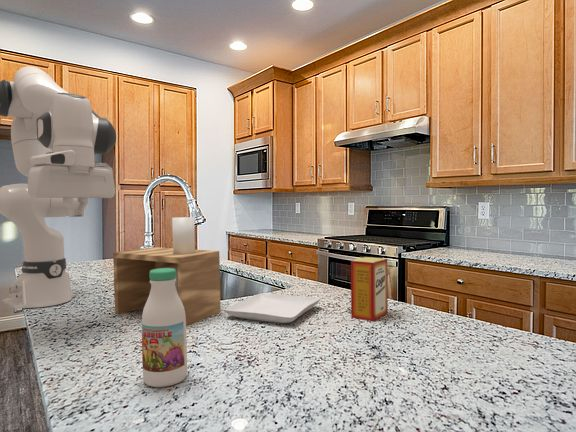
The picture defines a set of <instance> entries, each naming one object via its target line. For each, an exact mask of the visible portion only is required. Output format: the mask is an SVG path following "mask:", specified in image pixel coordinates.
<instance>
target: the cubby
mask: <svg viewBox="0 0 576 432" xmlns="http://www.w3.org/2000/svg"><path fill="white" fill-rule="evenodd" d="M112 253H113V255H112V257H113V260H112V261H113V287H114V289H113V291H114V314H115V315H122V314H125V313H128V312H132V311H135V310H138V309H142V308H144V307H145V304H146V302H147V300H148V297H149V294H150V290H151V283H150V277H149V273H150V270H151V269H155V268H160V267H178V296H179V298H180V299H181V301H182V304H183V306H184V310H185V317H186V327H187V326H191V325H192V324H195V323H198V322H200V321H203V320H205V319H208V318H210V317H213V316H215V315H218V314H220V313H221V310H222V309H221V275H220V274H221V272H220V271H221V269H220V267H221V265H220V263H221V262H220V261H221V260H220V258H221V257H220V250H210V249H209V250H207V249H195V253H193V254H173V247H161V246H159V247H158V246H157V247H156V246H153V247H146V248H145V247H144V248H138V249H131V250H129V249H128V250H122V251H117V252H116V251H115V252H112Z"/></svg>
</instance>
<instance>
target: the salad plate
mask: <svg viewBox="0 0 576 432" xmlns="http://www.w3.org/2000/svg"><path fill="white" fill-rule="evenodd" d="M321 300H322V299H321V297H313V296H305V295H304V296H301V295H294V294H293V295H292V294H280V293H279V294H277V293H276V294H275V293H262V292H261V293H257V294H255V295H253V296H250V297H247V298H245V299H243V300H242V301H239V302H237V303H234V304H232V305H230V306H228V307H227V308H225V309H224V311H225V312H226V313H227V314H229V315H230V316H232V317H236V318H239V319H244V320H245V319H246V320H250V321H251V320H252V321H259V322H266V323H267V322H268V323H273V324H274V323H275V324H288V323H292V322H294V321H295V320H296V319H297V318H299V317H300V316H302V315H303V314H305V313H306V312H308V311H309V310H311V309H312V308H314V307H315V306H316V305H317V304H319V302H320V301H321Z"/></svg>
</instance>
